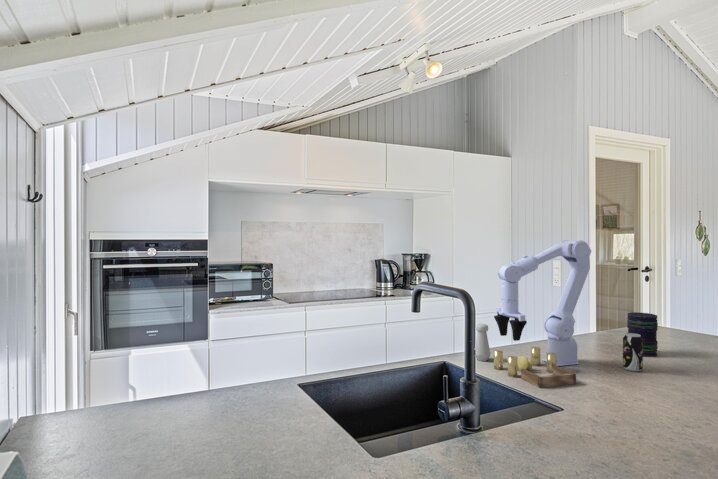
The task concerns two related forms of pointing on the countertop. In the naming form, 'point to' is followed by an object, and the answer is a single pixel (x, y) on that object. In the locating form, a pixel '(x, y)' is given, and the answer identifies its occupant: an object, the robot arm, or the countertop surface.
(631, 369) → the beverage can
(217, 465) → the countertop surface
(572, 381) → the corral
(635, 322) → the storage jar
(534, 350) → the spacer field
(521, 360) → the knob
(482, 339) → the salt shaker
